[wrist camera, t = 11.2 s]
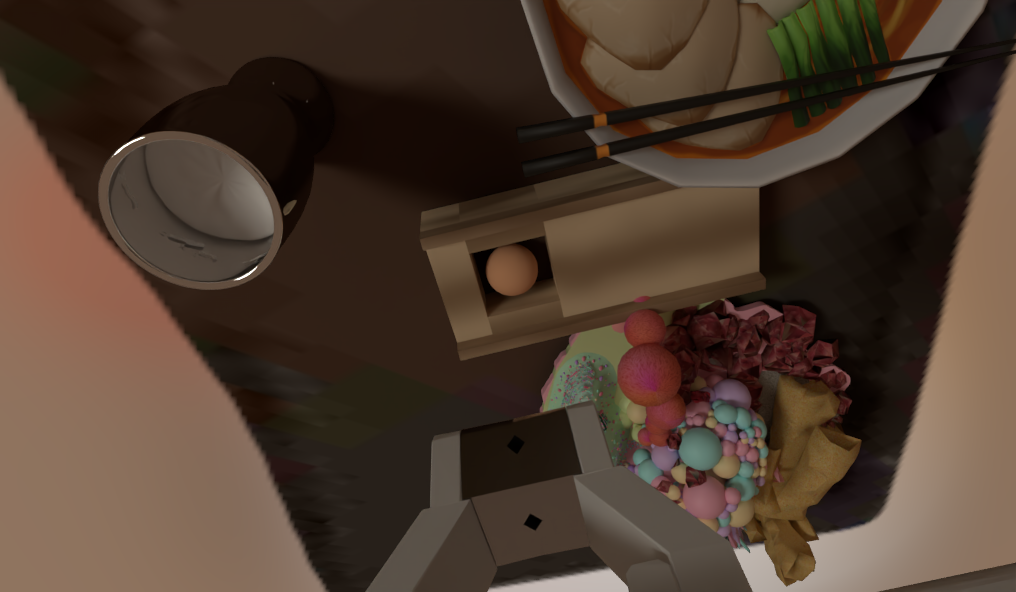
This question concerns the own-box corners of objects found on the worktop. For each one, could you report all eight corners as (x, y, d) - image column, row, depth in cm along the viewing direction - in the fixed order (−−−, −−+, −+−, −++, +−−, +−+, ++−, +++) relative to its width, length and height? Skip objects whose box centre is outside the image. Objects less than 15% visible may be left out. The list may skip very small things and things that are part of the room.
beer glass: (335, 178, 38) (281, 308, 26) (217, 154, 37) (98, 278, 24) (349, 65, 35) (295, 149, 22) (219, 33, 33) (82, 104, 21)
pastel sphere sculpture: (881, 309, 47) (978, 365, 39) (777, 546, 55) (839, 636, 47) (571, 261, 43) (604, 312, 35) (508, 525, 51) (522, 619, 43)
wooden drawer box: (421, 212, 40) (419, 239, 37) (738, 133, 39) (766, 154, 36) (459, 327, 45) (460, 360, 42) (740, 260, 44) (765, 288, 41)
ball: (483, 237, 42) (478, 264, 39) (533, 230, 41) (533, 257, 38) (492, 280, 43) (489, 309, 41) (541, 274, 43) (541, 302, 40)
